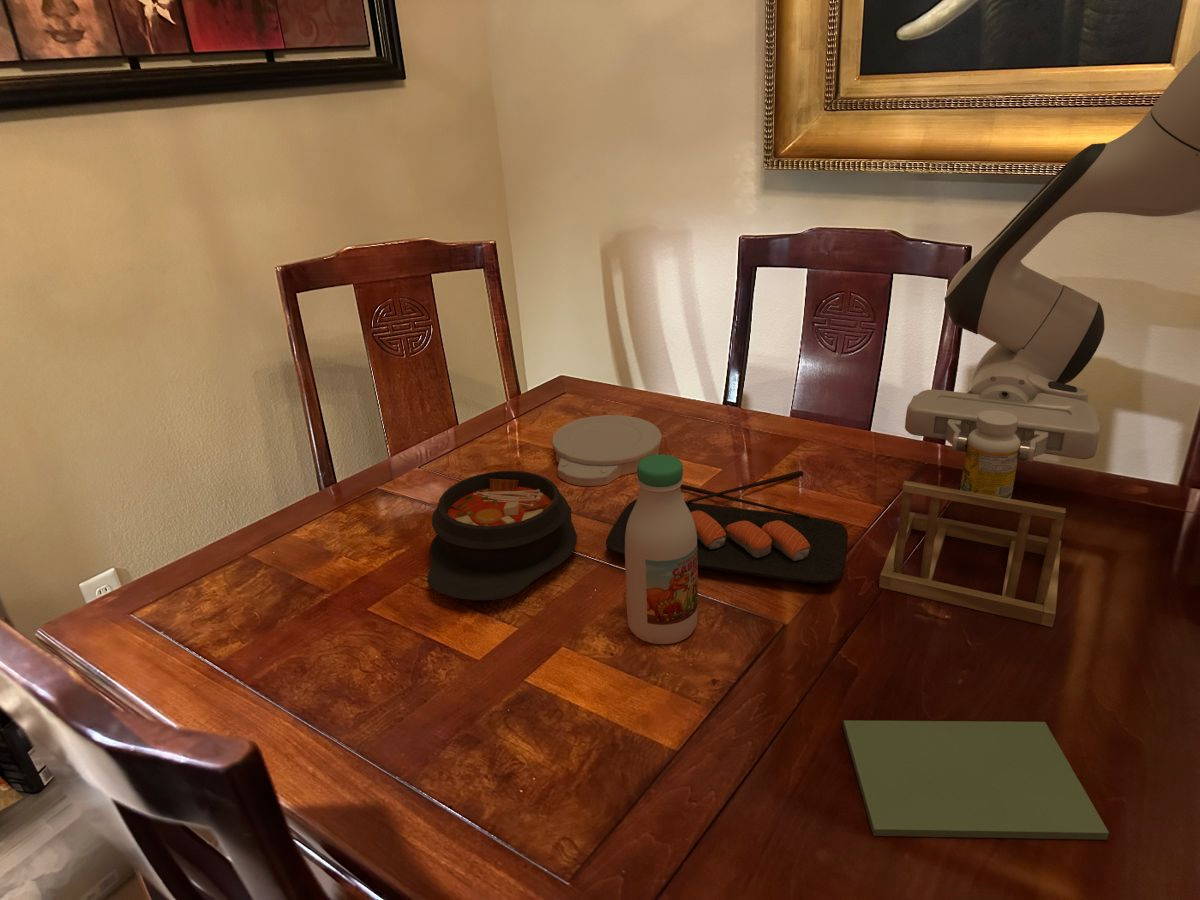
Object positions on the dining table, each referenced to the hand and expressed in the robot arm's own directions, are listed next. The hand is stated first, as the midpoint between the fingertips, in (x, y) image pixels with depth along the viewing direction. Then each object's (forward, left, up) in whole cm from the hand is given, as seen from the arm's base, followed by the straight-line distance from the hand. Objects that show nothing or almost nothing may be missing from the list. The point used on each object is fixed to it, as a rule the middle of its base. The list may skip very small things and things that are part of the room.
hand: (992, 450), depth 92 cm
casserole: (+41, +38, -16) cm, 59 cm away
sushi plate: (+27, +10, -16) cm, 34 cm away
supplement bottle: (0, -1, -6) cm, 6 cm away
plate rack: (0, -1, -16) cm, 16 cm away
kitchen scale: (+54, +11, -16) cm, 58 cm away
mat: (-16, +29, -16) cm, 36 cm away
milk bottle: (+17, +33, -16) cm, 41 cm away
